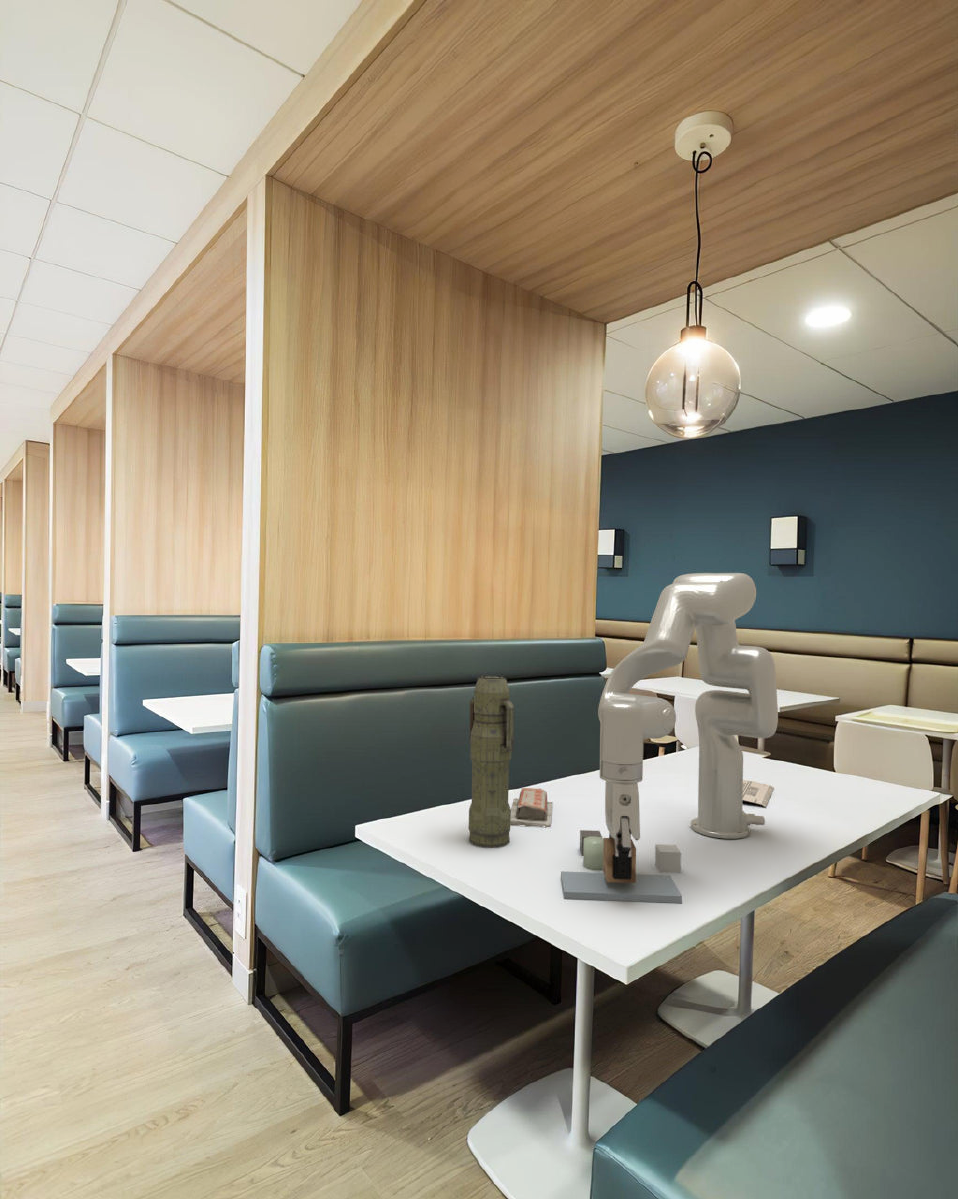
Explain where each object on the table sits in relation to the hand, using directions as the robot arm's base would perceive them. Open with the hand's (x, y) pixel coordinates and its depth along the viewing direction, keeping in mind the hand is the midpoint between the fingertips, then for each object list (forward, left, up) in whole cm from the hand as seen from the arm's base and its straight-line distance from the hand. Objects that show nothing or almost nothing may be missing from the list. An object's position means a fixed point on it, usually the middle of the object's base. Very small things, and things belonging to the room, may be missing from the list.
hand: (619, 871), depth 123 cm
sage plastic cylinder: (+3, -11, -3) cm, 12 cm away
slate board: (0, 0, -3) cm, 3 cm away
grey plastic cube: (-11, -11, -3) cm, 16 cm away
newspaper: (-44, -66, -4) cm, 79 cm away
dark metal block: (+3, -18, -3) cm, 18 cm away
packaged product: (+15, -42, -4) cm, 45 cm away
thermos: (+24, -23, -4) cm, 33 cm away
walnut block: (0, 0, -1) cm, 1 cm away
